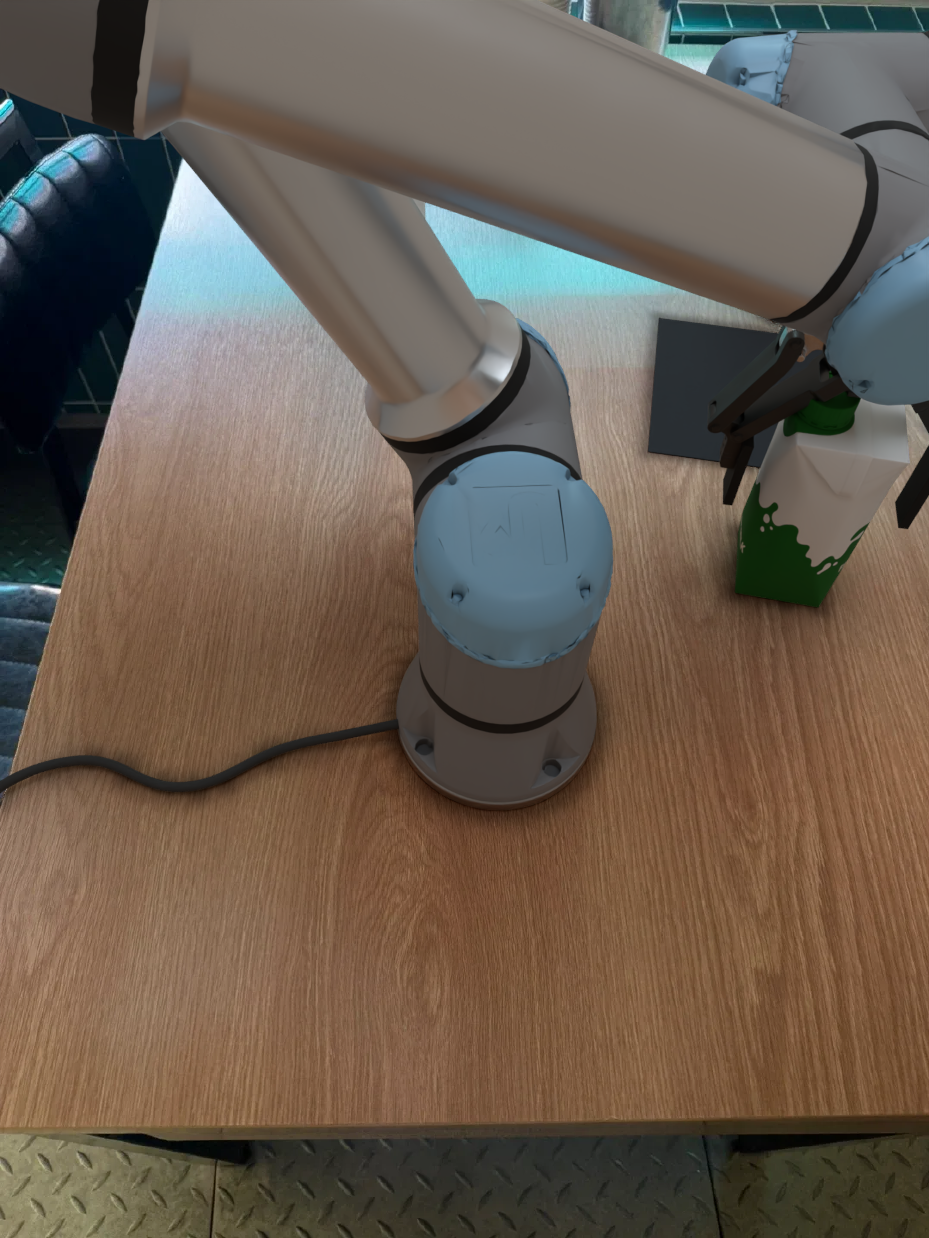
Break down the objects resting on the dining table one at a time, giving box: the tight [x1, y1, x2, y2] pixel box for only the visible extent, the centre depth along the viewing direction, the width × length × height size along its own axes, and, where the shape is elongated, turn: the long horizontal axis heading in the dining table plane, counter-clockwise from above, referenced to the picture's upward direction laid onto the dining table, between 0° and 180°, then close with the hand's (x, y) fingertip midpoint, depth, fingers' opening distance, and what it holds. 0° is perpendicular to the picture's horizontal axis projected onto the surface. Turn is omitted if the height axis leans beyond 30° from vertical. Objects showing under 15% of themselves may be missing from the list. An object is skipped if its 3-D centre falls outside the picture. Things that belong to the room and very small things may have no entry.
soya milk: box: [734, 371, 911, 608], centre depth 74 cm, size 9×9×20 cm
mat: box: [647, 317, 831, 468], centre depth 95 cm, size 20×20×1 cm
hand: (813, 504), depth 75 cm, fingers open, 13 cm apart
